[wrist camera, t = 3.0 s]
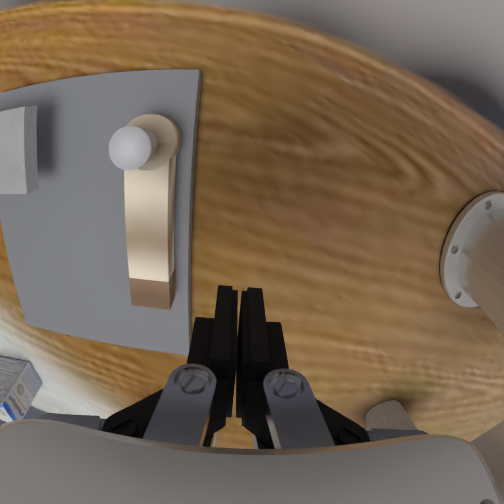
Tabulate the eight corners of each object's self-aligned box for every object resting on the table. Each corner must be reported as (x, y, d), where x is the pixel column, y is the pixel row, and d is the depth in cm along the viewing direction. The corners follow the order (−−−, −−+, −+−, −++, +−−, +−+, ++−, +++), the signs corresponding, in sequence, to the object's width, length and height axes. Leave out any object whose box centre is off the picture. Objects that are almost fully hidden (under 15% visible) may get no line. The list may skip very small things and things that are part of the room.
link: (132, 114, 19) (121, 114, 17) (183, 114, 19) (176, 114, 17) (136, 290, 24) (128, 304, 22) (178, 295, 24) (173, 310, 23)
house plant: (312, 445, 38) (326, 543, 23) (337, 386, 32) (368, 514, 17) (398, 434, 38) (426, 519, 24) (436, 376, 33) (486, 475, 18)
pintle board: (202, 72, 19) (182, 54, 13) (191, 345, 29) (180, 400, 23) (4, 94, 18) (-49, 99, 12) (33, 317, 28) (2, 356, 22)
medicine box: (9, 375, 34) (-15, 414, 26) (-4, 353, 32) (-32, 392, 24) (43, 383, 33) (19, 427, 26) (29, 360, 32) (1, 405, 24)
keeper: (58, 104, 18) (23, 106, 14) (59, 179, 21) (26, 194, 17) (-7, 116, 18) (-41, 122, 14) (-5, 180, 20) (-37, 195, 16)
